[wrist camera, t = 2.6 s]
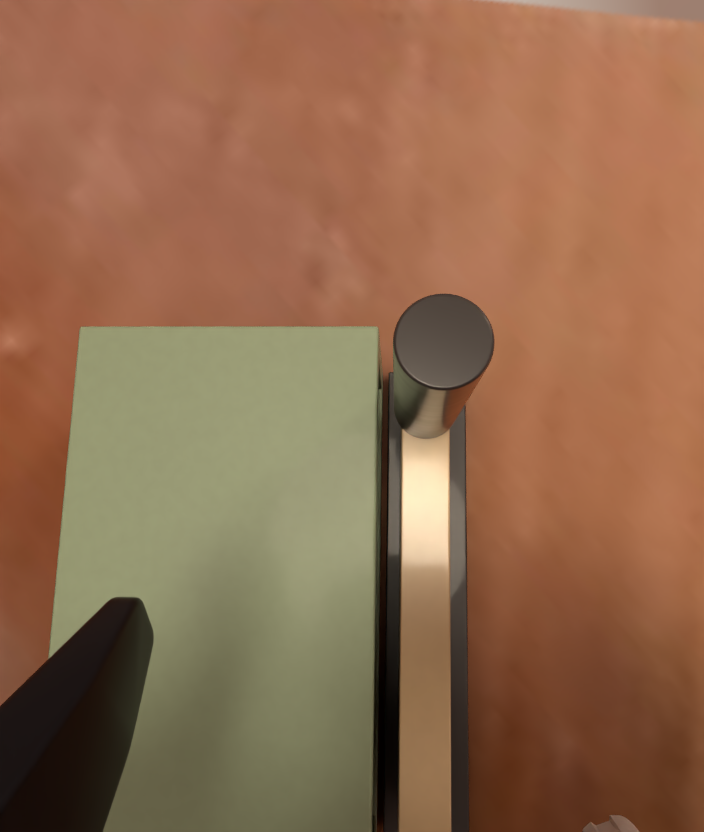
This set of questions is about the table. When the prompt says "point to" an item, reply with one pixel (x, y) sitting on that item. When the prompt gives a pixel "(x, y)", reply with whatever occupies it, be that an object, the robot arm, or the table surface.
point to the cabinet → (250, 571)
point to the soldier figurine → (612, 825)
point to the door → (429, 539)
